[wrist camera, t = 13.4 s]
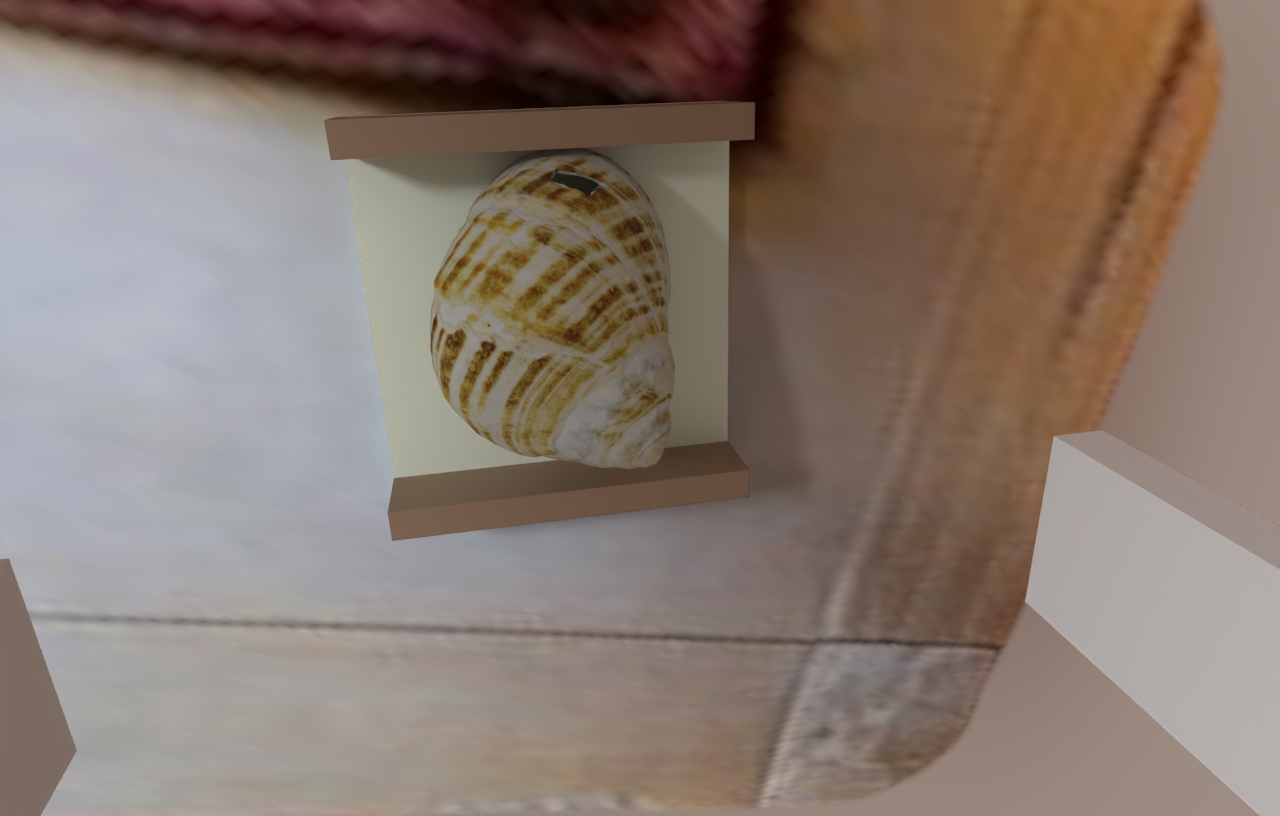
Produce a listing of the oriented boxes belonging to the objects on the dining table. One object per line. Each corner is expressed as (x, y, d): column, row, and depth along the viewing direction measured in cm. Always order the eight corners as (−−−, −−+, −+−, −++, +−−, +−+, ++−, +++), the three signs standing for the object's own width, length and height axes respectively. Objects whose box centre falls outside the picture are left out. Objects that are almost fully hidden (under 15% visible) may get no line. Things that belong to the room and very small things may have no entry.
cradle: (399, 495, 35) (392, 540, 31) (340, 116, 29) (324, 119, 26) (722, 458, 37) (748, 496, 34) (723, 101, 32) (754, 102, 28)
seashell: (564, 70, 29) (714, 205, 23) (664, 252, 36) (798, 392, 30) (329, 245, 29) (413, 430, 23) (478, 391, 36) (572, 560, 30)
